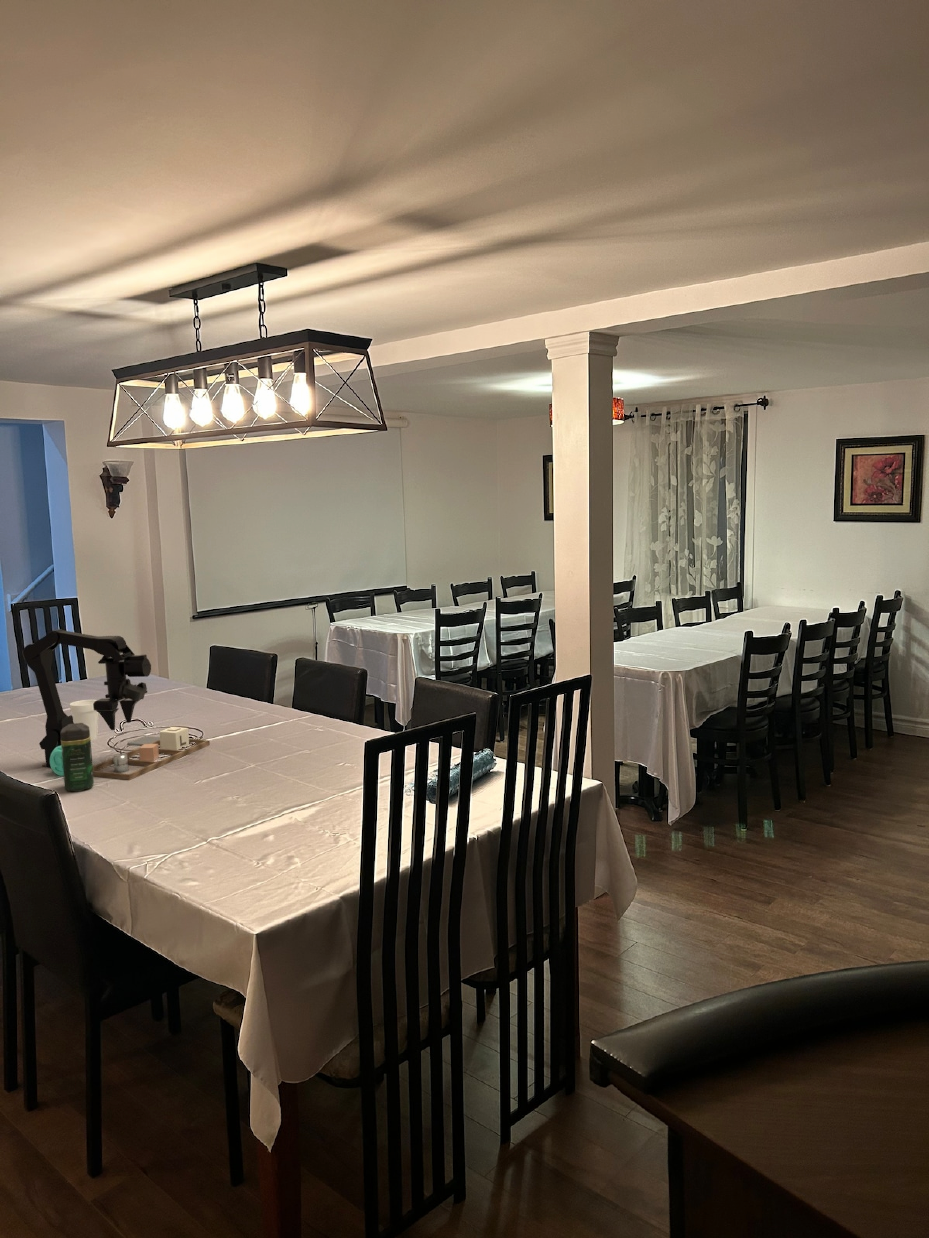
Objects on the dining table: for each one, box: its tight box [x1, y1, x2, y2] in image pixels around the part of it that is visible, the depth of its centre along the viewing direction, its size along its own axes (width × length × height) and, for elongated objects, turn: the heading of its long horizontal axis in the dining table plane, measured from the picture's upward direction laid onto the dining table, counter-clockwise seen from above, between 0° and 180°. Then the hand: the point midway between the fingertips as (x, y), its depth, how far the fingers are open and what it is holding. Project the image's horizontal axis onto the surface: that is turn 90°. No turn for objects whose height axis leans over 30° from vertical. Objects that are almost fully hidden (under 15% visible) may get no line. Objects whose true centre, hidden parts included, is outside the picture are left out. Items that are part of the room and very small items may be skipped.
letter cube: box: [159, 726, 190, 750], centre depth 300 cm, size 6×7×7 cm
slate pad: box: [126, 735, 160, 747], centre depth 310 cm, size 9×9×1 cm
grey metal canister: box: [112, 752, 129, 774], centre depth 277 cm, size 4×4×5 cm
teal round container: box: [50, 746, 64, 777], centre depth 277 cm, size 8×8×8 cm
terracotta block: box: [138, 744, 160, 762], centre depth 289 cm, size 4×4×4 cm
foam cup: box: [69, 699, 100, 741], centre depth 316 cm, size 10×9×13 cm
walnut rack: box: [93, 738, 211, 781], centre depth 289 cm, size 39×18×2 cm, turn 160°
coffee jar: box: [60, 723, 94, 792], centre depth 261 cm, size 10×8×19 cm
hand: (120, 726), depth 281 cm, fingers open, 9 cm apart
